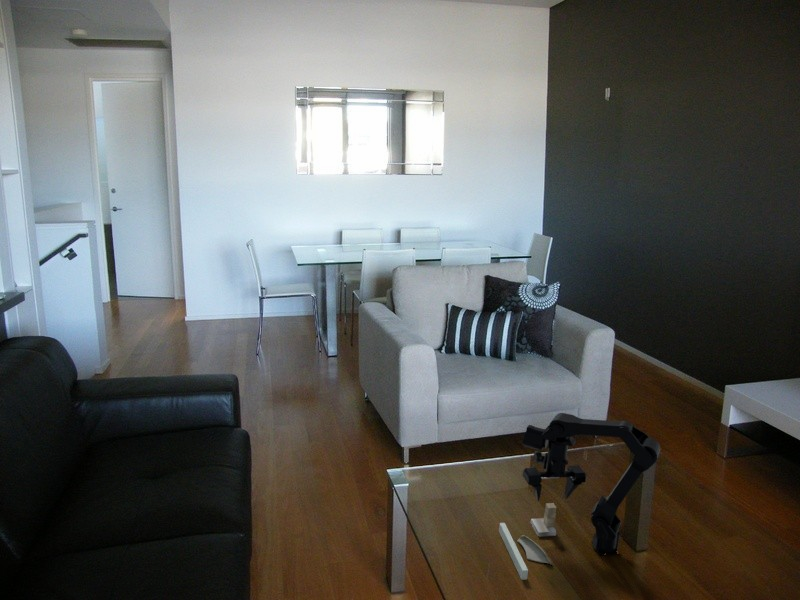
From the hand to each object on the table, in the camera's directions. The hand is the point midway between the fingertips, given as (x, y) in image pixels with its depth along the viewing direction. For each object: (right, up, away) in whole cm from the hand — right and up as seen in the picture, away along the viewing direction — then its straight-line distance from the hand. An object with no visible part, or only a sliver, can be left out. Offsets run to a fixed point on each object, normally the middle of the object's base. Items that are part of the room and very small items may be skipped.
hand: (551, 499), depth 204 cm
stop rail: (-14, -13, -9) cm, 21 cm away
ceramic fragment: (-7, -14, -8) cm, 18 cm away
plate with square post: (-2, -10, +3) cm, 11 cm away
